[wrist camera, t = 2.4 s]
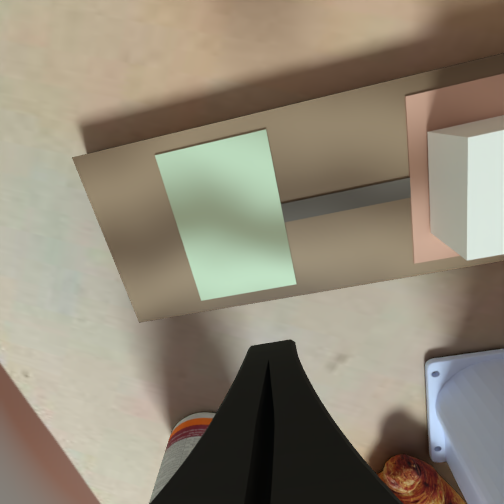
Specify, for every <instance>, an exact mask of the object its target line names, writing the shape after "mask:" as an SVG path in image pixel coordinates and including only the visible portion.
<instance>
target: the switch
mask: <svg viewBox="0 0 504 504" xmlns="http://www.w3.org/2000/svg"><path fill="white" fill-rule="evenodd" d="M502 115H504V53H502V54H498V55H494V56H490V57H486V58H482V59H478V60H473V61H469V62H465V63H461V64H457V65H453V66H449V67H445V68H440V69H436V70H432V71H428V72H424V73H420V74H416V75H411V76H407V77H403V78H399V79H395V80H391V81H387V82H382V83H378V84H374V85H370V86H366V87H362V88H358V89H354V90H349V91H345V92H341V93H337V94H333V95H329V96H325V97H320V98H316V99H312V100H308V101H304V102H300V103H296V104H292V105H287V106H283V107H279V108H275V109H271V110H267V111H263V112H258V113H254V114H250V115H246V116H242V117H238V118H234V119H230V120H225V121H221V122H217V123H213V124H209V125H205V126H201V127H196V128H192V129H188V130H184V131H180V132H176V133H172V134H168V135H163V136H159V137H155V138H151V139H147V140H143V141H139V142H134V143H130V144H126V145H122V146H118V147H114V148H110V149H105V150H101V151H97V152H93V153H89V154H85V155H81V156H77V157H72V159H73V161H74V164H75V166H76V169H77V171H78V173H79V176H80V178H81V181H82V183H83V186H84V188H85V191H86V193H87V196H88V198H89V200H90V203H91V205H92V208H93V210H94V213H95V215H96V218H97V220H98V223H99V225H100V227H101V230H102V232H103V235H104V237H105V240H106V242H107V245H108V247H109V250H110V252H111V254H112V257H113V259H114V262H115V264H116V267H117V269H118V272H119V274H120V277H121V279H122V281H123V284H124V286H125V289H126V291H127V294H128V296H129V299H130V301H131V304H132V306H133V308H134V311H135V313H136V316H137V318H138V321H139V323H140V322H146V321H152V320H158V319H163V318H169V317H175V316H181V315H187V314H193V313H199V312H205V311H211V310H217V309H223V308H228V307H234V306H240V305H246V304H252V303H258V302H264V301H270V300H276V299H282V298H288V297H293V296H299V295H305V294H311V293H317V292H323V291H329V290H335V289H341V288H347V287H352V286H358V285H364V284H370V283H376V282H382V281H388V280H394V279H400V278H406V277H412V276H417V275H423V274H429V273H435V272H441V271H447V270H453V269H459V268H465V267H471V266H476V265H482V264H488V263H494V262H500V261H504V254H502V255H497V256H491V257H485V258H479V259H473V260H465V259H464V258H463V257H461V256H460V255H459V254H458V253H456V252H455V251H454V250H452V249H451V248H450V247H448V246H447V245H446V244H445V243H443V242H442V241H441V240H439V239H438V238H437V237H435V236H434V235H433V234H432V233H431V228H430V197H429V166H428V134H427V132H429V131H434V130H438V129H443V128H447V127H452V126H456V125H461V124H465V123H470V122H475V121H479V120H484V119H488V118H493V117H497V116H502Z"/></svg>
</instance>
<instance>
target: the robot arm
mask: <svg viewBox="0 0 504 504" xmlns="http://www.w3.org/2000/svg"><path fill="white" fill-rule="evenodd" d="M434 371H436V372H435V373H432V372H434ZM425 376H426V398H427V420H428V442H429V456H430V458H431V460H432V461H433V462H447V464H448V466H449V468H450V470H451V472H452V474H453V476H454V478H455V480H456V482H457V484H458V486H459V488H460V490H461V492H462V494H463V496H464V498H465V500H466V502H467V504H504V349H497V350H490V351H483V352H476V353H468V354H461V355H454V356H447V357H440V358H433V359H429V360H428V361H427V362H426V363H425ZM150 504H403V503H402V502H401V501H400V500H399V499H398V497H397V496H396V495H395V494H394V493H393V492H392V491H391V490H390V489H389V488H388V486H387V485H386V484H385V483H384V482H383V481H382V480H381V479H380V477H379V476H378V475H377V474H376V473H375V472H374V471H373V470H372V468H371V467H370V466H369V465H368V464H367V463H366V462H365V460H364V459H363V458H362V457H361V456H360V454H359V453H358V452H357V451H356V449H355V448H354V447H353V446H352V444H351V443H350V442H349V440H348V439H347V438H346V436H345V435H344V434H343V432H342V431H341V430H340V428H339V427H338V426H337V424H336V423H335V421H334V420H333V419H332V417H331V416H330V414H329V413H328V411H327V410H326V408H325V406H324V405H323V403H322V402H321V400H320V399H319V397H318V395H317V394H316V392H315V390H314V388H313V386H312V385H311V383H310V381H309V379H308V377H307V375H306V373H305V371H304V369H303V367H302V365H301V362H300V360H299V357H298V354H297V349H296V345H295V342H294V341H292V340H285V341H278V342H272V343H266V344H260V345H254V346H251V347H250V348H249V349H248V352H247V354H246V356H245V359H244V361H243V363H242V365H241V367H240V370H239V372H238V374H237V376H236V378H235V380H234V382H233V384H232V386H231V387H230V389H229V391H228V393H227V395H226V397H225V399H224V401H223V402H222V404H221V406H220V408H219V409H218V411H217V413H216V414H215V416H214V418H213V419H212V421H211V423H210V424H209V426H208V427H207V429H206V431H205V432H204V434H203V435H202V437H201V438H200V440H199V441H198V443H197V444H196V445H195V447H194V448H193V450H192V451H191V452H190V454H189V455H188V457H187V458H186V459H185V461H184V462H183V463H182V465H181V466H180V467H179V468H178V470H177V471H176V472H175V474H174V475H173V476H172V477H171V479H170V480H169V481H168V482H167V484H166V485H165V486H164V487H163V489H162V490H161V491H160V492H159V493H158V495H157V496H156V497H155V498H154V499H153V500H152V502H151V503H150Z"/></svg>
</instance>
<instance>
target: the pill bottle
mask: <svg viewBox="0 0 504 504" xmlns="http://www.w3.org/2000/svg"><path fill="white" fill-rule="evenodd" d="M215 414H216V413H209V412H202V413H195V414H192V415H189V416H187V417H185V418H184V419H182V420H181V421H180V422H179V423H178V424H177V425H176V426H175V427H174V429H173V431H172V433H171V436H170V438H169V441H168V444H167V447H166V451H165V454H164V457H163V460H162V463H161V467H160V470H159V473H158V476H157V480H156V483H155V486H154V489H153V492H152V496H151V499H150V502H149V504H150V503H151V502H152V500H153V499H154V498H155V497H156V496H157V495H158V493H159V492H160V491H161V490H162V489H163V487H164V486H165V485H166V484H167V482H168V481H169V480H170V479H171V477H172V476H173V475H174V474H175V472H176V471H177V470H178V468H179V467H180V466H181V465H182V463H183V462H184V461H185V459H186V458H187V457H188V455H189V454H190V452H191V451H192V450H193V448H194V447H195V445H196V444H197V443H198V441H199V440H200V438H201V437H202V435H203V434H204V432H205V431H206V429H207V427H208V426H209V424H210V423H211V421H212V419H213V418H214V416H215Z"/></svg>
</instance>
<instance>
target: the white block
mask: <svg viewBox="0 0 504 504" xmlns="http://www.w3.org/2000/svg"><path fill="white" fill-rule="evenodd" d="M427 134H428V166H429V197H430V228H431V233H432V234H433V235H434V236H435V237H437V238H438V239H439V240H441V241H442V242H443V243H445V244H446V245H447V246H448V247H450V248H451V249H452V250H454V251H455V252H456V253H458V254H459V255H460V256H461V257H463V258H464V259H465V260H473V259H479V258H485V257H491V256H497V255H502V254H504V115H502V116H497V117H493V118H488V119H484V120H479V121H475V122H470V123H465V124H461V125H456V126H452V127H447V128H443V129H438V130H434V131H429V132H427Z"/></svg>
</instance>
